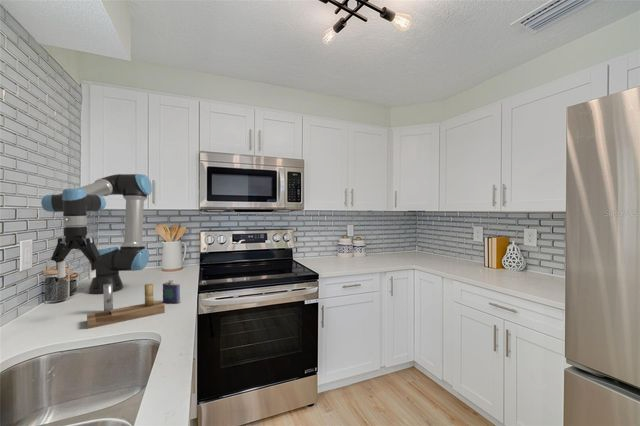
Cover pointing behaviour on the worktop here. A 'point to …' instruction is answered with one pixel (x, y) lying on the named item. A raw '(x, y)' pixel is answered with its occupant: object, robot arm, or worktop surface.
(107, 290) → the peg
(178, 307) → the worktop surface
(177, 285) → the flask
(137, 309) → the board
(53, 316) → the worktop surface
